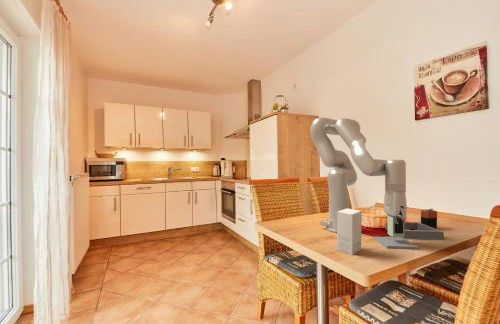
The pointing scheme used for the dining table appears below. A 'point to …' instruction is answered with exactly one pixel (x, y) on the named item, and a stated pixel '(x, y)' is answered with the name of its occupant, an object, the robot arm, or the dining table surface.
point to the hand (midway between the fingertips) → (395, 231)
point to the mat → (396, 243)
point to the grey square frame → (420, 231)
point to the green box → (393, 227)
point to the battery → (429, 218)
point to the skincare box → (349, 230)
